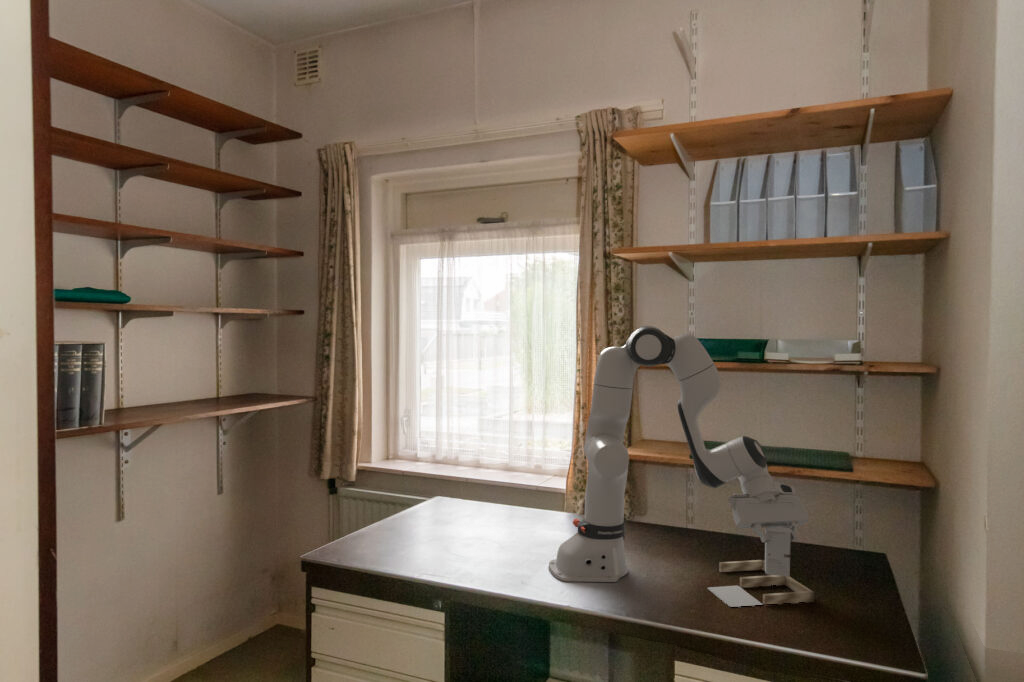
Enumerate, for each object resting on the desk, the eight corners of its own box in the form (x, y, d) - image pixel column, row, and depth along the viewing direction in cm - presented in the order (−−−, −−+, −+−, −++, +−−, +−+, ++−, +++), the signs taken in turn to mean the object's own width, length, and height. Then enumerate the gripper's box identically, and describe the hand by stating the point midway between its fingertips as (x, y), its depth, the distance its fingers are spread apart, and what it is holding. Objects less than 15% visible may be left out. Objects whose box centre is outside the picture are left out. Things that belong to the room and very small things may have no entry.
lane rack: (764, 605, 169) (765, 595, 169) (719, 570, 191) (719, 562, 191) (813, 601, 172) (814, 592, 172) (763, 568, 194) (763, 559, 194)
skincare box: (765, 575, 175) (765, 529, 174) (764, 568, 179) (764, 524, 179) (791, 577, 173) (791, 531, 172) (789, 570, 177) (789, 525, 177)
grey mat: (730, 608, 167) (730, 606, 167) (707, 588, 179) (707, 587, 179) (762, 605, 169) (763, 604, 169) (737, 586, 181) (737, 585, 181)
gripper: (731, 488, 179) (749, 537, 170) (799, 486, 183) (820, 533, 174) (722, 500, 184) (739, 548, 174) (788, 498, 188) (809, 544, 179)
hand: (780, 540), depth 174 cm, fingers closed on skincare box, 7 cm apart
